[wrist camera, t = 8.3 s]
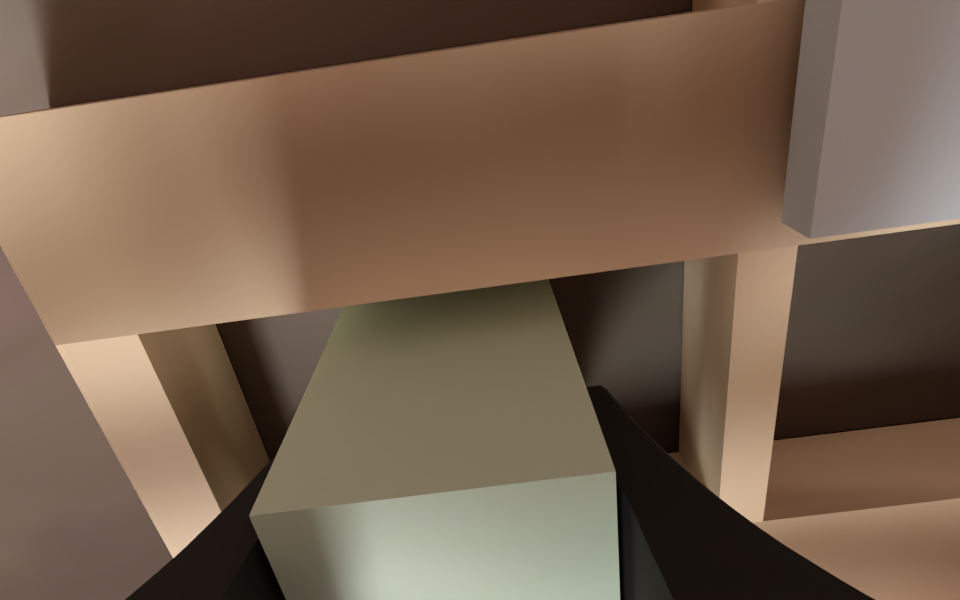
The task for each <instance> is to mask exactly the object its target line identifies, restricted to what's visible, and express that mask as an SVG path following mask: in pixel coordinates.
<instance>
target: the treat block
mask: <svg viewBox="0 0 960 600" xmlns="http://www.w3.org/2000/svg"><path fill="white" fill-rule="evenodd" d="M249 517H250V520H251V522H252V524H253V526H254V529H255V531H256V533H257V535H258V538H259V540H260V542H261V544H262V547H263V549H264V551H265V553H266V556H267V558H268V560H269V562H270V565H271V567H272V569H273V571H274V574H275V576H276V578H277V580H278V583H279V585H280V587H281V590H282V592H283V594H284V596H285V599H286V600H620V579H619V550H618V522H617V493H616V471H615V468H614V465H613V462H612V459H611V456H610V454H609V451H608V448H607V445H606V442H605V439H604V436H603V434H602V431H601V428H600V425H599V422H598V419H597V416H596V414H595V411H594V408H593V405H592V402H591V399H590V396H589V394H588V391H587V388H586V385H585V382H584V379H583V376H582V374H581V371H580V368H579V365H578V362H577V359H576V356H575V354H574V351H573V348H572V345H571V342H570V339H569V337H568V334H567V331H566V328H565V325H564V322H563V319H562V317H561V314H560V311H559V308H558V305H557V302H556V299H555V297H554V294H553V291H552V288H551V285H550V282H549V279H545V280H538V281H530V282H523V283H515V284H508V285H501V286H493V287H486V288H478V289H471V290H463V291H456V292H449V293H441V294H434V295H426V296H419V297H411V298H404V299H397V300H389V301H382V302H374V303H367V304H359V305H352V306H345V307H343V309H342V311H341V313H340V316H339V318H338V320H337V322H336V325H335V327H334V329H333V331H332V333H331V336H330V338H329V340H328V342H327V344H326V347H325V349H324V351H323V353H322V355H321V358H320V360H319V362H318V364H317V367H316V369H315V371H314V373H313V375H312V378H311V380H310V382H309V384H308V386H307V389H306V391H305V393H304V395H303V397H302V400H301V402H300V404H299V406H298V408H297V411H296V413H295V415H294V417H293V420H292V422H291V424H290V426H289V428H288V431H287V433H286V435H285V437H284V439H283V442H282V444H281V446H280V448H279V450H278V453H277V455H276V457H275V459H274V462H273V464H272V466H271V468H270V470H269V473H268V475H267V477H266V479H265V481H264V484H263V486H262V488H261V490H260V492H259V495H258V497H257V499H256V501H255V503H254V506H253V508H252V510H251V512H250V515H249Z"/></svg>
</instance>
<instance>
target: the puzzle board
mask: <svg viewBox="0 0 960 600" xmlns="http://www.w3.org/2000/svg"><path fill="white" fill-rule="evenodd" d="M804 9H805V0H693V1H692V12H686V13H680V14H673V15H666V16H660V17H653V18H646V19H640V20H633V21H626V22H620V23H613V24H607V25H600V26H593V27H587V28H580V29H573V30H567V31H560V32H553V33H547V34H540V35H534V36H527V37H520V38H514V39H507V40H500V41H494V42H487V43H480V44H474V45H467V46H460V47H454V48H447V49H441V50H434V51H427V52H421V53H414V54H407V55H401V56H394V57H387V58H381V59H374V60H368V61H361V62H354V63H348V64H341V65H334V66H328V67H321V68H314V69H308V70H301V71H295V72H288V73H281V74H275V75H268V76H261V77H255V78H248V79H241V80H235V81H228V82H222V83H215V84H208V85H202V86H195V87H188V88H182V89H175V90H168V91H162V92H155V93H149V94H142V95H135V96H129V97H122V98H115V99H109V100H102V101H95V102H89V103H82V104H76V105H69V106H62V107H56V108H49V109H43V110H37V111H31V112H25V113H19V114H13V115H7V116H1V117H0V246H1V248H2V250H3V251H4V253H5V255H6V257H7V259H8V261H9V262H10V264H11V266H12V268H13V270H14V271H15V273H16V275H17V277H18V279H19V280H20V282H21V284H22V286H23V288H24V289H25V291H26V293H27V295H28V297H29V299H30V300H31V302H32V304H33V306H34V308H35V309H36V311H37V313H38V315H39V317H40V318H41V320H42V322H43V324H44V326H45V327H46V329H47V331H48V333H49V335H50V336H51V338H52V340H53V342H54V344H55V346H56V347H57V349H58V351H59V353H60V355H61V356H62V358H63V360H64V362H65V364H66V365H67V367H68V369H69V371H70V373H71V374H72V376H73V378H74V380H75V382H76V383H77V385H78V387H79V389H80V391H81V393H82V394H83V396H84V398H85V400H86V402H87V403H88V405H89V407H90V409H91V411H92V412H93V414H94V416H95V418H96V420H97V421H98V423H99V425H100V427H101V429H102V431H103V432H104V434H105V436H106V438H107V440H108V441H109V443H110V445H111V447H112V449H113V450H114V452H115V454H116V456H117V458H118V459H119V461H120V463H121V465H122V467H123V468H124V470H125V472H126V474H127V476H128V478H129V479H130V481H131V483H132V485H133V487H134V488H135V490H136V492H137V494H138V496H139V497H140V499H141V501H142V503H143V505H144V506H145V508H146V510H147V512H148V514H149V515H150V517H151V519H152V521H153V523H154V525H155V526H156V528H157V530H158V532H159V534H160V535H161V537H162V539H163V541H164V543H165V544H166V546H167V548H168V550H169V552H170V553H171V555H172V557H173V558H174V557H175V556H176V555H177V554H179V553H180V552H181V551H182V550H183V549H184V548H185V547H186V546H187V545H188V544H189V543H190V542H191V541H192V540H193V539H194V538H195V537H196V536H197V535H198V534H199V533H200V532H201V531H203V530H204V529H205V528H206V527H207V526H208V525H209V524H210V523H211V522H212V521H213V520H214V519H215V518H216V517H217V516H218V515H219V514H220V513H221V512H222V511H223V510H224V509H225V508H226V507H227V506H228V505H229V504H230V503H231V502H232V501H233V500H234V499H235V498H236V497H237V496H238V495H239V494H240V493H241V491H242V490H243V489H244V488H245V487H246V486H247V485H248V484H249V483H250V482H251V481H252V480H253V479H254V478H255V477H256V475H257V474H258V473H259V472H260V471H261V470H262V469H263V468H264V467H265V466H266V465H267V464H268V463H269V462H270V461H269V458H268V456H267V453H266V451H265V448H264V446H263V443H262V441H261V438H260V435H259V433H258V430H257V428H256V425H255V423H254V420H253V418H252V415H251V413H250V410H249V408H248V405H247V403H246V400H245V398H244V395H243V393H242V390H241V388H240V385H239V382H238V380H237V377H236V375H235V372H234V370H233V367H232V365H231V362H230V360H229V357H228V355H227V352H226V350H225V347H224V345H223V342H222V340H221V337H220V335H219V332H218V329H217V327H216V324H218V323H226V322H233V321H241V320H248V319H255V318H263V317H270V316H278V315H285V314H293V313H300V312H307V311H315V310H322V309H330V308H337V307H345V306H352V305H359V304H367V303H374V302H382V301H389V300H397V299H404V298H411V297H419V296H426V295H434V294H441V293H449V292H456V291H463V290H471V289H478V288H486V287H493V286H501V285H508V284H515V283H523V282H530V281H538V280H545V279H553V278H560V277H567V276H575V275H582V274H590V273H597V272H605V271H612V270H620V269H627V268H634V267H642V266H649V265H657V264H664V263H672V262H679V261H685V262H684V294H683V327H682V360H681V392H680V425H679V452H676V453H668V454H669V455H670V456H671V457H672V458H673V459H674V460H676V461H677V462H678V463H679V464H680V465H681V466H682V467H683V468H685V469H686V470H687V471H688V472H689V473H690V474H691V475H693V476H694V477H695V478H696V479H697V480H698V481H700V482H701V483H702V484H703V485H704V486H706V487H707V488H708V489H709V490H710V491H712V492H713V493H714V494H715V495H717V496H718V497H719V498H720V499H722V500H723V501H724V502H725V503H727V504H728V505H729V506H731V507H732V508H733V509H734V510H736V511H737V512H738V513H740V514H741V515H743V516H744V517H745V518H747V519H748V520H749V521H751V522H752V523H754V524H755V525H756V526H758V527H759V528H760V529H762V530H763V531H765V532H766V533H768V534H769V535H771V536H772V537H774V538H775V539H776V540H778V541H779V542H781V543H782V544H784V545H785V546H787V547H788V548H790V549H792V550H793V551H795V552H797V553H798V554H800V555H801V556H803V557H805V558H806V559H808V560H809V561H811V562H813V563H814V564H816V565H818V566H819V567H821V568H822V569H824V570H826V571H827V572H829V573H830V574H832V575H834V576H835V577H837V578H839V579H840V580H842V581H844V582H845V583H847V584H849V585H850V586H852V587H854V588H856V589H857V590H859V591H861V592H863V593H864V594H866V595H868V596H870V597H872V598H873V599H875V600H960V418H954V419H946V420H938V421H930V422H921V423H913V424H905V425H897V426H889V427H881V428H872V429H864V430H856V431H848V432H840V433H831V434H823V435H815V436H807V437H799V438H791V439H782V440H774V441H773V438H774V430H775V422H776V415H777V407H778V399H779V391H780V383H781V375H782V367H783V359H784V352H785V344H786V336H787V328H788V320H789V312H790V304H791V296H792V289H793V281H794V273H795V265H796V257H797V249H798V245H805V244H813V243H820V242H828V241H835V240H842V239H850V238H857V237H865V236H872V235H880V234H887V233H894V232H902V231H909V230H917V229H924V228H932V227H939V226H946V225H954V224H960V219H953V220H946V221H938V222H931V223H923V224H916V225H909V226H901V227H894V228H886V229H879V230H871V231H864V232H857V233H849V234H842V235H834V236H827V237H820V238H812V239H809V238H808V237H806V236H804V235H802V234H801V233H799V232H797V231H795V230H794V229H792V228H790V227H788V226H787V225H785V224H783V223H782V222H781V218H782V208H783V199H784V190H785V181H786V172H787V163H788V154H789V145H790V136H791V127H792V118H793V109H794V100H795V91H796V82H797V72H798V63H799V54H800V45H801V36H802V27H803V18H804Z"/></svg>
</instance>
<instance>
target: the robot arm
mask: <svg viewBox="0 0 960 600" xmlns="http://www.w3.org/2000/svg"><path fill="white" fill-rule="evenodd" d="M586 388H587V391H588V394H589V396H590V399H591V402H592V405H593V408H594V411H595V414H596V416H597V419H598V422H599V425H600V428H601V431H602V434H603V436H604V439H605V442H606V445H607V448H608V451H609V454H610V456H611V459H612V462H613V465H614V468H615V471H616V493H617V522H618V550H619V579H620V600H875V599H873V598H872V597H870V596H868V595H866V594H864V593H863V592H861V591H859V590H857V589H856V588H854V587H852V586H850V585H849V584H847V583H845V582H844V581H842V580H840V579H839V578H837V577H835V576H834V575H832V574H830V573H829V572H827V571H826V570H824V569H822V568H821V567H819V566H818V565H816V564H814V563H813V562H811V561H809V560H808V559H806V558H805V557H803V556H801V555H800V554H798V553H797V552H795V551H793V550H792V549H790V548H788V547H787V546H785V545H784V544H782V543H781V542H779V541H778V540H776V539H775V538H774V537H772V536H771V535H769V534H768V533H766V532H765V531H763V530H762V529H760V528H759V527H758V526H756V525H755V524H754V523H752V522H751V521H749V520H748V519H747V518H745V517H744V516H743V515H741V514H740V513H738V512H737V511H736V510H734V509H733V508H732V507H731V506H729V505H728V504H727V503H725V502H724V501H723V500H722V499H720V498H719V497H718V496H717V495H715V494H714V493H713V492H712V491H710V490H709V489H708V488H707V487H706V486H704V485H703V484H702V483H701V482H700V481H698V480H697V479H696V478H695V477H694V476H693V475H691V474H690V473H689V472H688V471H687V470H686V469H685V468H683V467H682V466H681V465H680V464H679V463H678V462H677V461H676V460H674V459H673V458H672V457H671V456H670V455H669V454H668V453H667V452H666V451H665V450H664V449H663V448H662V447H661V446H660V445H659V444H658V443H657V442H655V441H654V440H653V439H652V438H651V437H650V436H649V435H648V434H647V433H646V432H645V431H644V430H643V429H642V428H641V427H640V426H639V425H638V424H637V423H636V421H635V420H634V419H633V418H632V417H631V416H630V415H629V414H628V413H627V412H626V411H625V410H624V409H623V408H622V406H621V405H620V404H619V403H618V402H617V401H616V400H615V399H614V397H613V396H612V395H611V394H610V393H609V392H608V390H607V389H605V388H604V387H603V386H601V385H600V386H592V387H586ZM276 455H277V454H276ZM276 455H275V456H274V457H273V458H272V459H271V460H270V462H269V463H268V464H267V465H266V466H265V467H264V468H263V469H262V470H261V471H260V472H259V473H258V474H257V475H256V477H255V478H254V479H253V480H252V481H251V482H250V483H249V484H248V485H247V486H246V487H245V488H244V489H243V490H242V491H241V493H240V494H239V495H238V496H237V497H236V498H235V499H234V500H233V501H232V502H231V503H230V504H229V505H228V506H227V507H226V508H225V509H224V510H223V511H222V512H221V513H220V514H219V515H218V516H217V517H216V518H215V519H214V520H213V521H212V522H211V523H210V524H209V525H208V526H207V527H206V528H205V529H204V530H203V531H201V532H200V533H199V534H198V535H197V536H196V537H195V538H194V539H193V540H192V541H191V542H190V543H189V544H188V545H187V546H186V547H185V548H184V549H183V550H182V551H181V552H180V553H179V554H177V555H176V556H175V557H174V558H173V559H172V560H171V561H170V562H169V563H168V564H166V565H165V566H164V567H163V568H162V569H161V570H160V571H159V572H157V573H156V574H155V575H154V576H153V577H151V578H150V579H149V580H148V581H147V582H146V583H144V584H143V585H142V586H141V587H140V588H139V589H137V590H136V591H135V592H134V593H133V594H131V595H130V596H129V597H128V598H127V599H125V600H286V599H285V596H284V594H283V592H282V590H281V587H280V585H279V583H278V580H277V578H276V576H275V574H274V571H273V569H272V567H271V565H270V562H269V560H268V558H267V556H266V553H265V551H264V549H263V547H262V544H261V542H260V540H259V538H258V535H257V533H256V531H255V529H254V526H253V524H252V522H251V520H250V517H249V515H250V512H251V510H252V508H253V506H254V503H255V501H256V499H257V497H258V495H259V492H260V490H261V488H262V486H263V484H264V481H265V479H266V477H267V475H268V473H269V470H270V468H271V466H272V464H273V462H274V459H275V457H276Z"/></svg>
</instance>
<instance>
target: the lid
mask: <svg viewBox="0 0 960 600" xmlns="http://www.w3.org/2000/svg"><path fill="white" fill-rule="evenodd" d="M953 219H960V0H805V9H804V18H803V27H802V36H801V45H800V54H799V63H798V72H797V82H796V91H795V100H794V109H793V118H792V127H791V136H790V145H789V154H788V163H787V172H786V181H785V190H784V199H783V208H782V218H781V222H782V223H783V224H785V225H787V226H788V227H790V228H792V229H794V230H795V231H797V232H799V233H801V234H802V235H804V236H806V237H808V238H809V239H812V238H820V237H827V236H834V235H842V234H849V233H857V232H864V231H871V230H879V229H886V228H894V227H901V226H909V225H916V224H923V223H931V222H938V221H946V220H953Z"/></svg>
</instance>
